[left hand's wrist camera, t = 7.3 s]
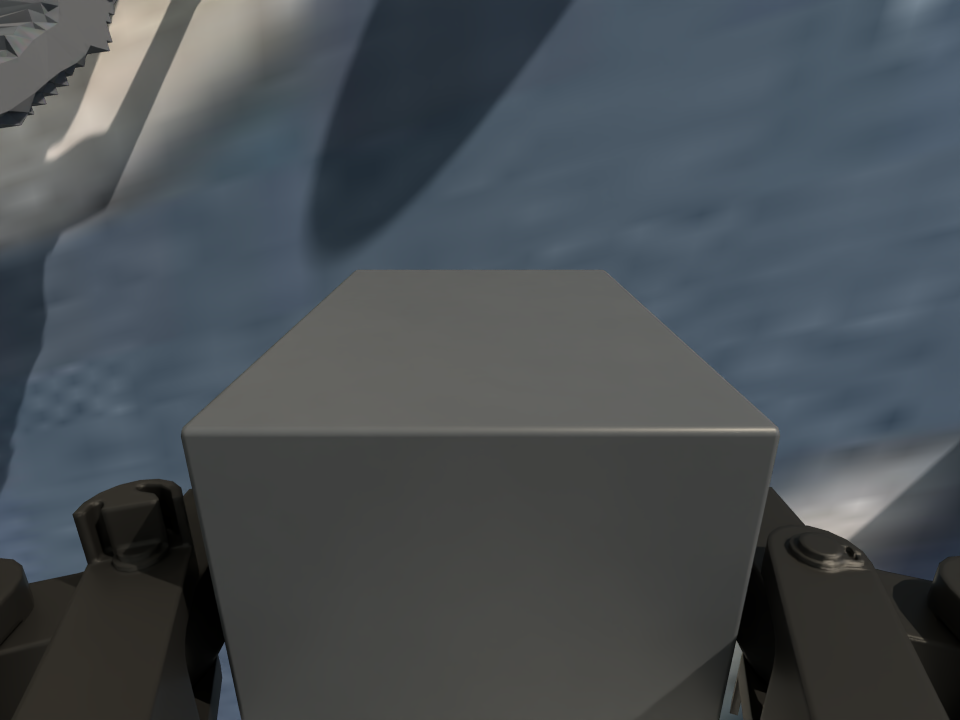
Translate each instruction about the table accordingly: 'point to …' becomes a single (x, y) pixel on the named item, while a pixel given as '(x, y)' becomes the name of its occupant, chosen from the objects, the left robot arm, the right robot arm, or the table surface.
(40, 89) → the toy
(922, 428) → the table surface
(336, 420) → the box
